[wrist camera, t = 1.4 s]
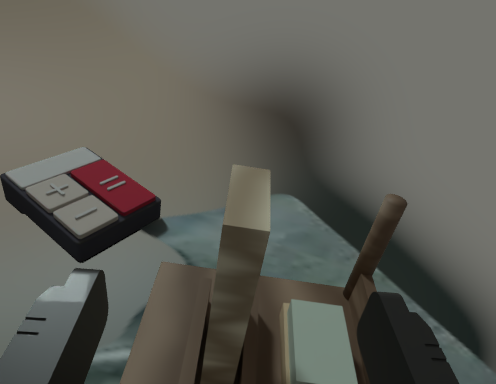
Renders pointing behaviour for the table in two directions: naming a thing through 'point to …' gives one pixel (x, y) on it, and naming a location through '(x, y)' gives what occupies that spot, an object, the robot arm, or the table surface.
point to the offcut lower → (284, 345)
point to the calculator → (81, 201)
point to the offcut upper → (319, 344)
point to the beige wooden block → (237, 271)
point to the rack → (260, 321)
